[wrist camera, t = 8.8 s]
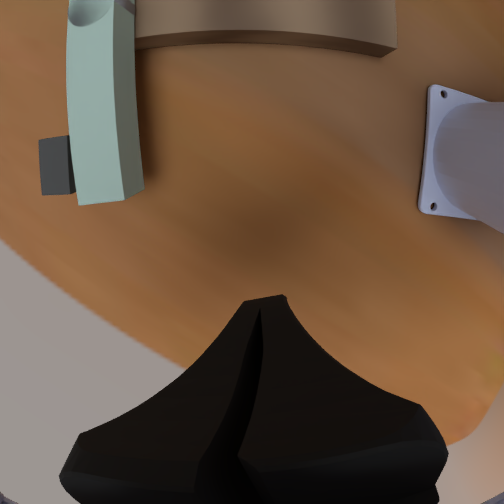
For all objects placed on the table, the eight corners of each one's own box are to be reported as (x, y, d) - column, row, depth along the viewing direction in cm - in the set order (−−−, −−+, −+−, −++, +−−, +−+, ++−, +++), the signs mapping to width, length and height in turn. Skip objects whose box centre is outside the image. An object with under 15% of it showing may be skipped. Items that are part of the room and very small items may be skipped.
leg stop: (104, 132, 17) (67, 135, 13) (106, 179, 18) (70, 194, 14) (78, 135, 17) (38, 139, 13) (80, 180, 18) (42, 195, 14)
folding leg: (93, 4, 11) (69, -9, 9) (135, -10, 11) (116, -27, 9) (102, 194, 15) (78, 205, 13) (145, 189, 15) (125, 199, 13)
